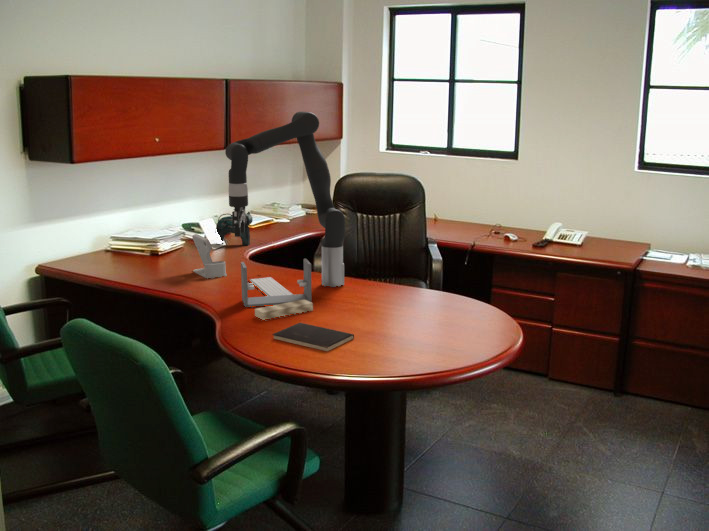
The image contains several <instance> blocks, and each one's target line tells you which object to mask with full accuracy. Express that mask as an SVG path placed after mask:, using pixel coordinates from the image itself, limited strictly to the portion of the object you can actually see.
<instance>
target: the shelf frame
mask: <svg viewBox="0 0 709 531" xmlns="http://www.w3.org/2000/svg"><path fill="white" fill-rule="evenodd" d="M247 267H248V266H247V265H246V263H245V261H241V262H240V276H241V277H240V278H241V280H240V281H241V301H243V302H242V304H243V303H244V304H243V306H245V307H250V306H251V308H253V307H252V306H264V305H278V304H283V303H288V302H294V301H299V300H304V299H305V300H307V301H310V302H312V301H313V300H312V298H313V297H312V263H311V262H310V261H309V260H308V259H307V258H303V279H297V281H296V283H297V285H299V288H301V287H302V288H303V293H301V294H300V293H298V294H293V295H281V296H253V297H252V296H251V297H249V294H248V292H249V291H252V290H255V289H256V288H255V287H254V285H253V283H249V282H248V268H247ZM312 303H313V302H312ZM245 307H244V308H245Z"/></svg>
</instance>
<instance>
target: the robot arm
mask: <svg viewBox="0 0 709 531" xmlns="http://www.w3.org/2000/svg"><path fill="white" fill-rule="evenodd" d="M319 127H320V120H319V118H318V116H317V115H316V114H315V113H313V112H309V111H297V112H296V113H294V114H293V116H292V118H291V122H288V123H287V124H284V125H281V126H278V127H274V128H271V129H266V130H263V131H261V132H258V133H256V134H254V135H251V136H250V137H247V138H242V139H240V140H236V141H234V142H232V143H229V144H228V145H227V146H226V147H225V151H224V152H225V156H226V158H227V159H228V160H229V161H230V162H231V163H230V168H229V170H228V206H229V207H231V208H233V210H232V213H231V215H232V219H233V227H234V231H235V233H234V237H237V238H238V237H240V235H241V234H240V233H244V232H245V225H244V223H245V221H246V214H247V213H246V207H249V188H248V180H247V178H248V176H247V170H248V162H249V156H250V155H255V154H259V153H262V152H264V151H266V150H268V149H271V148H273V147H276V146H278V145H280V144H283V143H285V142H288V141H290V140H294V139H296V140H297V143H298V146H299V150H300V153H301V157H302V161H303V164H304V167H305V168H304V169H305V172H306V175H307V178H308V182H309V185H310V188H311V192H312V195H313V198H314V201H315V208H316V213H317V219H318V222H319V224H320V226H321V227H322V228H324V237H323V238H322V239H321V285H322V286H323V285H324V286H323V287H326V286H330V287H329V288H337V287H336V286H338V287H341V285H343V286H345V263H344V241H345V237H346V218H345V217H346V216H345V215H344V213H343V211H341V210H339V209H338V208H337V209H336V207H335V205H334V203H333V199H332V195H331V183H332V181H331V180H332V179H331V178H332V177H331V174H330V169H329V166H328V163H327V161H326V158H325V156H324V155H323V153H322V151H321V149H320V148H319V146H318V144H317V142H316V139H315V135H314V134H315V133H316V132H317V131H318V129H319ZM236 222H238V224H236ZM240 238H241V237H240Z"/></svg>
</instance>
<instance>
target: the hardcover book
mask: <svg viewBox="0 0 709 531" xmlns="http://www.w3.org/2000/svg"><path fill="white" fill-rule="evenodd" d="M272 336H273V339H274V340H279V341H283V342H285V343H291V344H295V345H299V346H303V347H308V348H312V349H315V350H320V351H324V352H329V351H331V350H333V349H336V348H337V347H339V346H341V345H343V344H345V343H347V342H349V341H352V340H353V339H355V335H354V334H353V333H349V332H346V331H341V330H335V329H331V328H327V327H321V326H317V325H313V324H308V323H304V322H298V323H296V324H293V325H291V326H289V327H286V328H284V329H281V330H279V331H277V332H273V333H272Z"/></svg>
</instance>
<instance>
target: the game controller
mask: <svg viewBox="0 0 709 531" xmlns="http://www.w3.org/2000/svg"><path fill="white" fill-rule="evenodd" d="M245 214H246V221H245V223H244V225H245V232H244V233H240V234H241V235H240V239H241V244H242V246H243V247H244V246H246V247H247V246H251V234H250V233H251V232H250V228H249V227H250V225H252V223H253V216H252V215H251V213H250V211H248V212H246V213H245ZM225 215H228V216H225ZM222 216H223V217H222ZM236 224H238V222H236ZM216 229H217V232H218V234H219V235H220V237H221V240H222V241H225V237H226V235H227V234H230V233H231V234H235V231H234V227H233V219H232V213H223V214H221V215H219V217H218V219H217V223H216V228H215V230H216Z"/></svg>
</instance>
